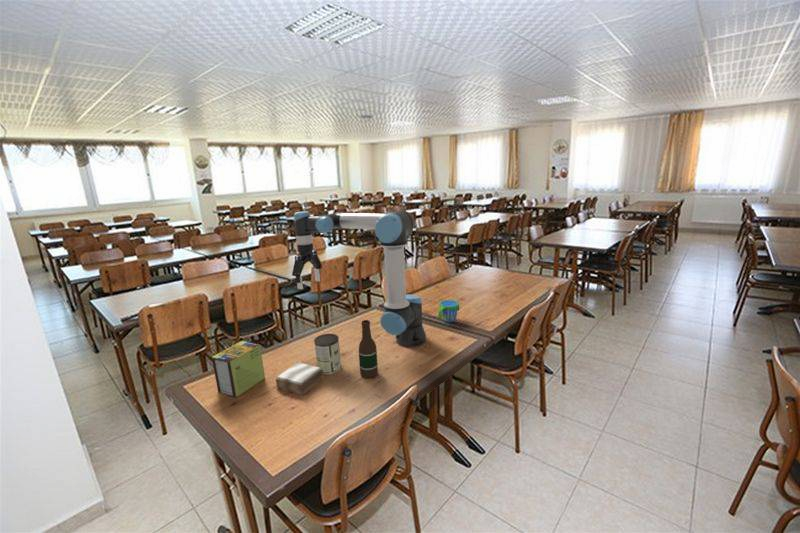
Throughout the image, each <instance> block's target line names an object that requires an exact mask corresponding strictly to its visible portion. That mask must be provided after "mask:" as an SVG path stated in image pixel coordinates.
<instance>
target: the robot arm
mask: <svg viewBox="0 0 800 533" xmlns="http://www.w3.org/2000/svg"><path fill="white" fill-rule="evenodd" d="M293 222H294V229H295V230H294V231H295V238H296V245H297V247H296V248H297V252H298V253H299V255H294V263H293V268H292V274H291V276H292V277H295V281H296V287H297V289H298V290H304V286H303V277H302V272H303V270H304V266H305V265H306V263H307V264H308V262H309V263H311V265H312V266H313V268H314V269H313V272H314V273H313V274H314V281H315V282H321V275H320V274H321V272H320V271H321V270H320V269H322V266H323V264H322V261H321V259H320V257H319V255H318V252H317V250H314V244H313V242H314V241H313V233H323V234H324V233H330V232H331V231H332V230H334V229H354V230H355V229H357V230H358V229H360V230H374V233H375V236H376V238H377V239H378V241H379V243H380V246H381V247H382V248H383V250H384V251H383V252H384V269H385V270H384V272H385V287H386V288H385V289H386V301H385V302H384V303H383V313H382V315H381V317H380V321H379V322H380V326H381V327H382V329H383V330H384V331H385V332H386V333H387V334H389V335H392V336H395V341H396V343H397V344H398V345H399V346H403V347H407V348H409V347H418V346H421V345H423V344H425V343H426V342H427V334H426V331H425V328H424V326H423V302H422V297H421V296H419V295H417V294H407V293H406V292H407V290H406V270H405V269H406V268H405V267H406V265H405V264H406V263H405V247H406V246H407V245H408V236H409V235H410V234H411V233H412V232H413V231H414V229H415V219H414V216H413V215H412V214H411V213H410V212H409V211H406V210H397V211H396V210H395V211H388V212H387V213H378V212H377V213H374V212H371V213H369V212H367V213H366V212H365V213H363V212H360V213H359V212H357V213H356V212H354V213H353V212H341V211H337V212H333V213H328V214H324V215H315V216H314V215H311V214H310V212H309V211H297V212H295V213H294V214H293Z"/></svg>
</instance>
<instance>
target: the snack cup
mask: <svg viewBox="0 0 800 533" xmlns="http://www.w3.org/2000/svg"><path fill="white" fill-rule="evenodd" d="M438 306H439V309H438V314H437V316H438V318H439V319H441V320H442V321H443V322H445V323H453V322H455V321H456V320H457V315H458V312H459V311H460V303H459V302H458V301H457V300H454V299H445V300H442V301H439V304H438Z"/></svg>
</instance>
